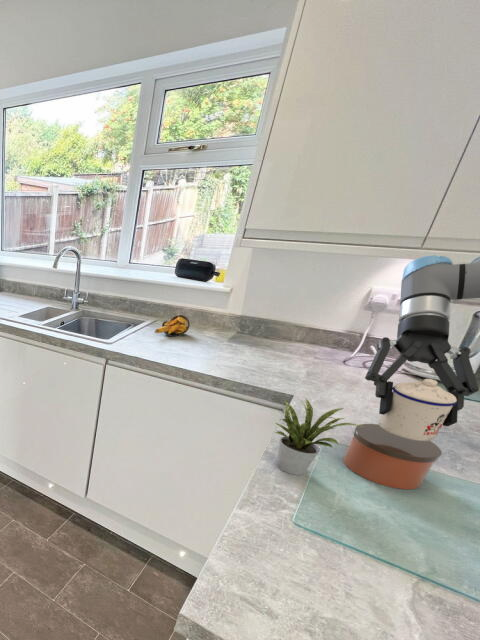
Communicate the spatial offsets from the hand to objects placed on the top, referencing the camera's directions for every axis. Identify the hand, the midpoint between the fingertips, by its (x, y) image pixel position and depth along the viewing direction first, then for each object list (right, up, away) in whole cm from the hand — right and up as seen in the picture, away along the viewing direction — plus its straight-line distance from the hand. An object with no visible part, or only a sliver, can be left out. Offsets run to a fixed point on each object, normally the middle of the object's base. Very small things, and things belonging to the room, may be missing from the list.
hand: (416, 417), depth 84 cm
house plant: (-17, -13, +9) cm, 23 cm away
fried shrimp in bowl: (-3, +28, +96) cm, 100 cm away
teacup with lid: (+2, -3, +4) cm, 5 cm away
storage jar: (+2, -13, +9) cm, 15 cm away
